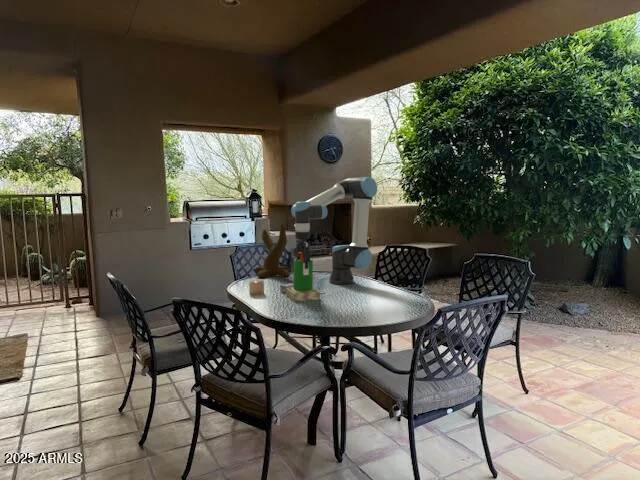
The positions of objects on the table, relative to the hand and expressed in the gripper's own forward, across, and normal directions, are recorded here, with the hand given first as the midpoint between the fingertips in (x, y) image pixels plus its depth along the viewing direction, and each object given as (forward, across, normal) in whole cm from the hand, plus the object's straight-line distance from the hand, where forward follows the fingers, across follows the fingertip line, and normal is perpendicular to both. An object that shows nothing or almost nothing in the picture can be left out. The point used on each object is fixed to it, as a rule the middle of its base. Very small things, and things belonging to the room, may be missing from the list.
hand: (302, 273), depth 230 cm
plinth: (+13, 0, 0) cm, 13 cm away
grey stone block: (+13, -16, -3) cm, 21 cm away
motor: (+9, 0, 0) cm, 9 cm away
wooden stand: (+13, -68, +1) cm, 69 cm away
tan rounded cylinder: (+13, -17, -21) cm, 30 cm away
